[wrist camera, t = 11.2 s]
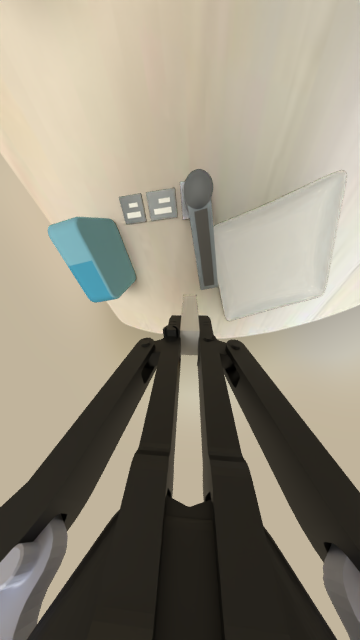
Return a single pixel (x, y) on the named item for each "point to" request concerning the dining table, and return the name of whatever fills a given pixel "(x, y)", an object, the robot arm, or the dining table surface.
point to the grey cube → (184, 203)
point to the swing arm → (202, 225)
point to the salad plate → (279, 249)
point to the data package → (94, 256)
